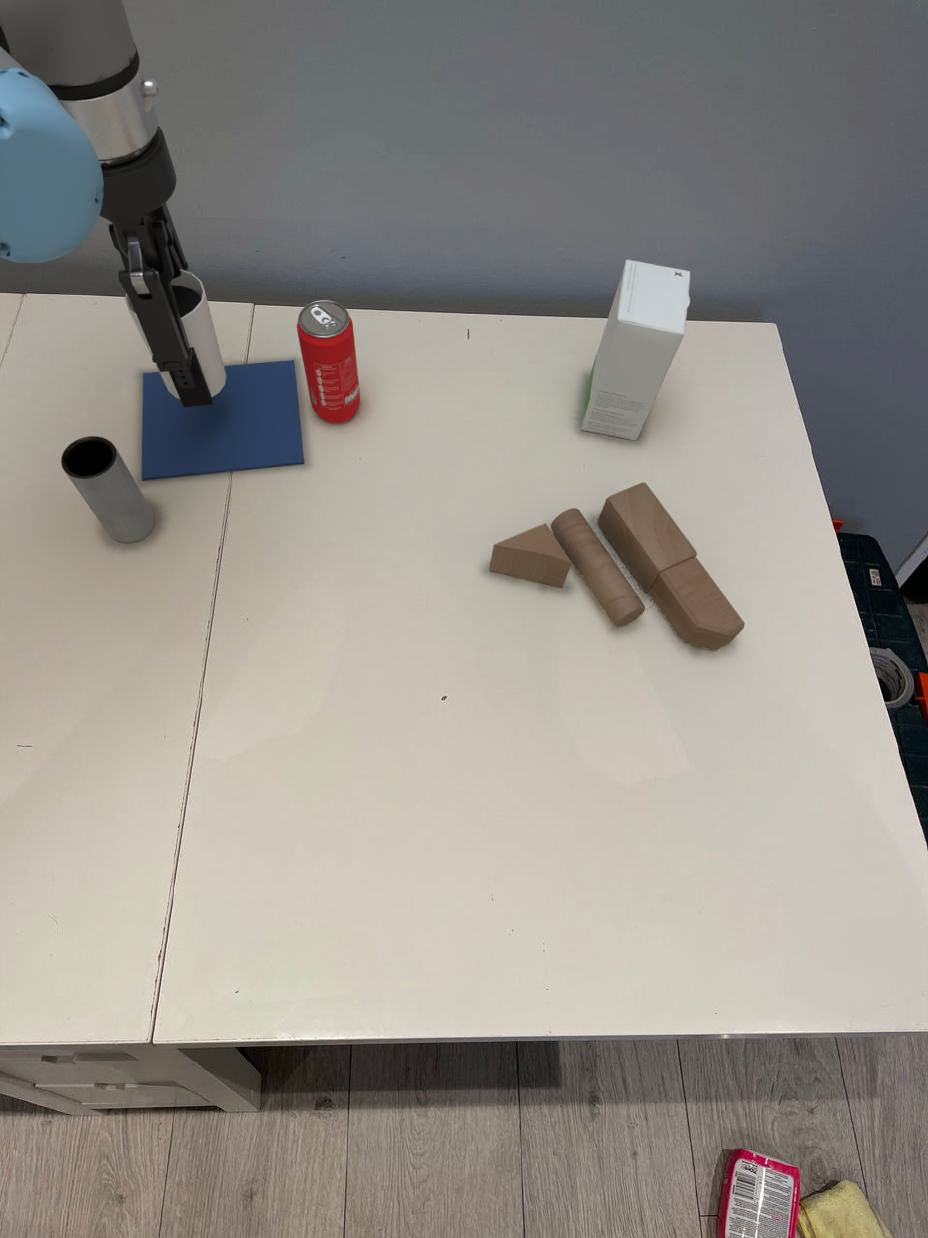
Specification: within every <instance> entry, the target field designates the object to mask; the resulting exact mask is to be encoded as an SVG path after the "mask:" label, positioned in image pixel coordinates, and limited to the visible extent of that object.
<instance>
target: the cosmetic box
mask: <svg viewBox="0 0 928 1238" xmlns="http://www.w3.org/2000/svg"><path fill="white" fill-rule="evenodd" d="M622 269H623V270H622V272H621V276H620V279H619V282H618V286H617V288H616V290H615V291H616V292H615V295H614V298H613V300H612V304H611V308H610V311H609V314H608V316H607V319H606V323H605V326H604V329H603V333H602V336H601V339H600V343H599V346H598V348H597V351H596V355H595V357H594V361H593V364H592V367H591V370H590V373H589V377H588V384H587V389H586V396H585V401H584V408H583V415H582V420H581V425H580V426H581V427H580V429H581V431H583V432H589V433H595V434H600V435H606V436H609V437H616V438H621V439H624V440H625V439H626V440H631V441H638V438H639V436H640V433H641V431H642V429H643V426H644V425H645V423H646V422H645V421H646V419H647V418H648V415H649V413H650V411H651V409H652V407H653V404H654V402H655V400H656V399H657V396H658V393H659V391H660V389H661V387H662V385H663V383H664V380H665V378H666V376H667V374H668V372H669V370H670V367H671V366H672V363H673V361H674V359H675V356H676V354H677V352H678V350H679V348H680V345H681V343H682V341H683V339H684V337H685V334H686V325H687V324H686V323H687V315H688V308H689V307H690V304H691V297H690V295H689V294H690V284H691V270H685V269H680V268H675V267H669V266H663V265H659V264H652V263H648V262H644V261H637V260H633V259H626V260H625V263H624V266H623V268H622Z"/></svg>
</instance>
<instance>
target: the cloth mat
mask: <svg viewBox="0 0 928 1238" xmlns="http://www.w3.org/2000/svg"><path fill="white" fill-rule="evenodd" d="M295 367H296V366H295V360H294V359H290V360H289V359H288V360H277V361H265V362H254V363H241V364H231V365H224V368H225V372H226V381H225V385H224V387H223V388H222V389H221V391H220V392H219V393H218V394H216V395H215V396H213V397H212V403H213V405H203V406H193V407H183V405H182V402H181V400H180V399H178V398H176V397H175V396H173V395H172V394H171V393H170V392H169V391H168V389H167V387H166V385H165V383H164V381H163V378H162V376H161V374H160V372H159V371H152V372H150V371H149V372H143V373H142V415H141V416H142V418H141V419H142V425H141V435H142V436H141V481H152V480H163V479H171V478H172V479H173V478H181V477H191V476H200V475H210V474H220V473H231V472H238V471H239V472H240V471H248V470H249V471H250V470H258V469H259V470H260V469H269V468H278V467H286V466H296V465H297V466H298V465H304V464H305V458H304V457H305V456H304V447H303V438H302V428H301V427H302V426H301V418H300V406H299V397H298V386H297V377H296V368H295Z"/></svg>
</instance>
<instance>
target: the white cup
mask: <svg viewBox="0 0 928 1238" xmlns="http://www.w3.org/2000/svg"><path fill="white" fill-rule="evenodd" d="M180 271H181V275H180V277H177V278H174V279H173V280H172V281H171V284H172V287H173V291H174V294H175V297H176V301H177V304H178V308H179V311H180V315H181V320H182V323H183V325H184V328H185V332H186V335H187V339H188V342H189V346H190V348H192V347H194V350H195V352H196V355H197V358H198V361H199V363H200V366H201V369H202V372H203V374H204V377H205V380H206V383H207V385H208V388H209V391H210V394H211V396H212V397H213V396H215V395H216V394H218V393H219V392H220V391H221V389H222V388H223V387H224V385H225V381H226V372H225V368H224V366H225V365H224V360H223V357H222V353H221V349H220V345H219V342H218V341H219V340H218V337H217V333H216V329H215V325H214V321H213V317H212V313H211V309H210V305H209V301H208V297H207V293H206V290H205V288H204V287H205V286H204V285H203V282H202V280H201V279H200V278H198V276H196V275H195V274H194V273H193V272H190V271H188V272H187V271H184V270H181V269H180ZM124 301H125V305H126V307H127V309H128V312H129V314H130V316H131V318H132V320H133V322H134V324H135V326H136V328H137V330H138V332H139V334H140V336H141V337H142V340H143V342H144V344H145V346H146V348H147V351H148V353H149V354H150V356H151V357H152V355H153V354H152V351H151V349H150V346H149V344H148V342H147V339H146V337H145V334H144V332H143V329H142V327H141V325H140V322H139V320H138V317H137V315H136V312H135V310H134V308H133V305H132V303H131V300H130V298H129V297H128V295H127V293H126V292H125V296H124ZM154 364H155V367H156V368H157V371H158V372H160V371H159V368H158V367H157V364H156V363H154ZM160 374H161V376H162V378H163V381H164V383H165V385H166V387H167V389H168V391H169V392H170V393H171V394H172V395H173V396H175V397H176V398H178V399H180V398H179V395H178V393H177V391H176V388H175V386H174V383H173V381H172V379H171V376H170V374H169V371H167V372H160Z"/></svg>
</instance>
